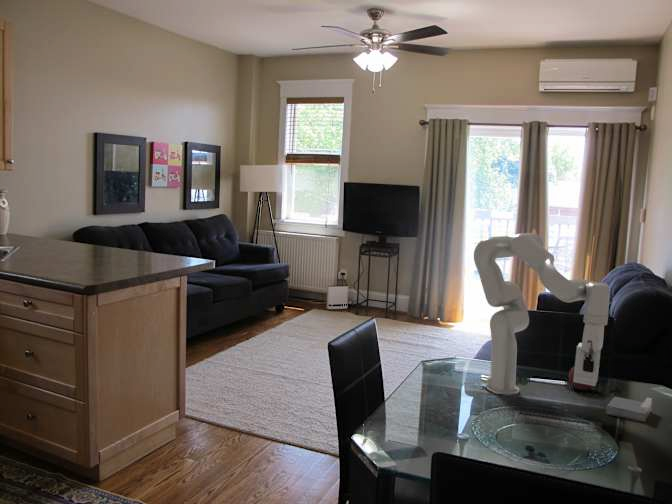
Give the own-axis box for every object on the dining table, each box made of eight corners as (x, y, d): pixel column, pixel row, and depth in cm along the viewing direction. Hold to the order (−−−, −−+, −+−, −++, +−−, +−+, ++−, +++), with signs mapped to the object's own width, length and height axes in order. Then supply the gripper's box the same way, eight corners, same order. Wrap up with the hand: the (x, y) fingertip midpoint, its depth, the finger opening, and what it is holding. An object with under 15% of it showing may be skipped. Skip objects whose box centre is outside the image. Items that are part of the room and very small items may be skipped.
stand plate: (606, 413, 207) (607, 400, 207) (614, 404, 217) (615, 391, 216) (644, 422, 200) (645, 407, 200) (650, 412, 210) (651, 398, 209)
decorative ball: (568, 384, 240) (570, 359, 239) (595, 387, 236) (597, 363, 235) (567, 391, 231) (568, 366, 230) (595, 395, 226) (596, 369, 225)
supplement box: (595, 386, 201) (599, 350, 199) (572, 382, 204) (576, 346, 203) (598, 380, 207) (601, 345, 206) (575, 376, 211) (579, 341, 209)
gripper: (590, 313, 212) (586, 360, 214) (576, 321, 198) (572, 372, 200) (613, 316, 207) (608, 365, 209) (600, 325, 193) (596, 377, 195)
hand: (591, 368), depth 204 cm, fingers closed on supplement box, 7 cm apart
